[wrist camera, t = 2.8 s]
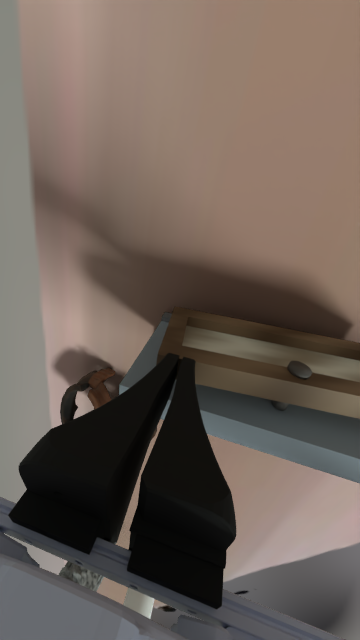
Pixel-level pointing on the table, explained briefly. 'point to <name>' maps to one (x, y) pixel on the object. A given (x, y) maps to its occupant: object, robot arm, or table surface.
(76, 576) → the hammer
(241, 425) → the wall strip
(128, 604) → the bottle
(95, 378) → the pottery mug
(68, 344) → the table surface
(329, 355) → the brown rectangular panel
